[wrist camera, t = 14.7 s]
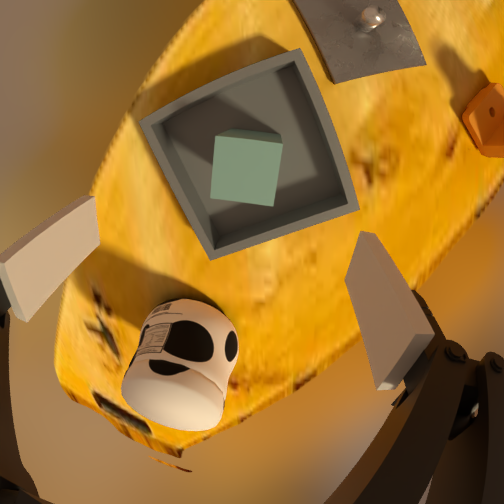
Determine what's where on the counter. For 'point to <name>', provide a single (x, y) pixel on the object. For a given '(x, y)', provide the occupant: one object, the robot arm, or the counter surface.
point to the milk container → (182, 365)
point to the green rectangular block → (246, 166)
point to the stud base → (361, 36)
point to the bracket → (487, 120)
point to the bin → (263, 120)
